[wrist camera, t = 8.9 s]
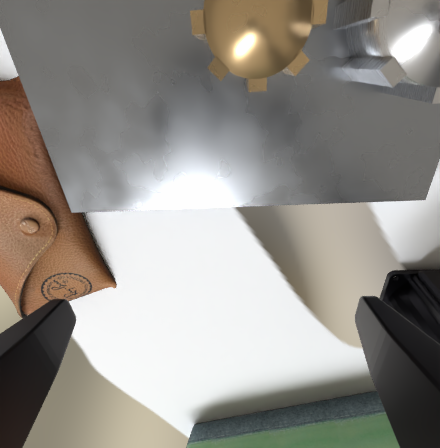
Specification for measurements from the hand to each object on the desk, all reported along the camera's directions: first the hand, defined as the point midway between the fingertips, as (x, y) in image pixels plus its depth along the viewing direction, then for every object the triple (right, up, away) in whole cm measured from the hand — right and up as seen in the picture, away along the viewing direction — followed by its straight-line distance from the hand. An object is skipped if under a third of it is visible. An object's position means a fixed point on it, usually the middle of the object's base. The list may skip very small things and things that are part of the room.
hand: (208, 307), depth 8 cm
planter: (+9, -22, +27) cm, 36 cm away
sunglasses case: (-14, +4, +13) cm, 20 cm away
